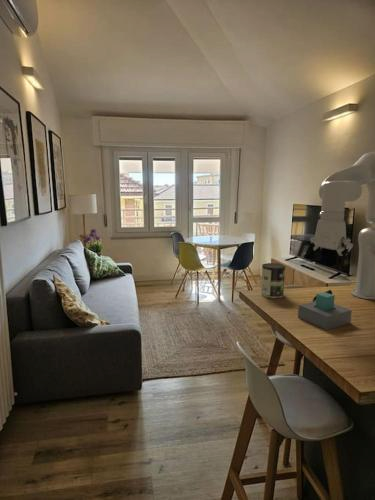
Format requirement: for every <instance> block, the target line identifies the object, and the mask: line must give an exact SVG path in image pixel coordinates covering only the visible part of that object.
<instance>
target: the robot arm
mask: <svg viewBox="0 0 375 500" xmlns="http://www.w3.org/2000/svg"><path fill="white" fill-rule="evenodd" d="M362 185H366V188H367V191H368V192H367V193H368V197H367V202H366V203H367V205H366V211H365V221H366V222H367V224H370V225H374V226H375V151H370V152H366V153H364V154H363V155H362V156H360V158H358V160H357V161H356V162H355V163H353V165H351V166H349V167H346V168H343V169H341V170H338V171H336V172H334V173H332V174H330V175H328V176H327V177H326V178H325V179H324V180H323V181H322V182H321V184H320V186H319V188H318V196H319V198H320V199H321V211H320V212H319V213H318V215H319V217H320V219H318V221H317V224H316V229H315V234H314V236H312V237H311V236H310V238H309V240H310V243H311V246H312V248H313V249H312V250H313V251H314V254H313V255H314V256H313V261H314V262H320V261H322V255H323V253H322V252H323V251H322V249H327V250H332V251H336V252H337V254H338V255H337V256H336V265H335V267H336V268H337V267H338V268H340V267H344V266H345V262H346V261H345V260H346V256H347V255H348V254H349V253H351V250H352V248H353V247H354V243H352V242H350V241H349V240H348V239H347V227H346V221H345V220H344V219H345V209H346V202H347V203H351V202H355V201H358V200H359V199H360V197H361V196H362V193H363V187H362ZM357 238H358V263H357V269H356V270H357V271H356V280H355V289H352V290H351V295H353V296H355V297H356V298H360V299H364V300H365V299H366V300H374V301H375V227H365V228H363V229H361V230H360V231H359V233H358V237H357Z"/></svg>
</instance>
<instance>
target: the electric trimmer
mask: <svg viewBox="0 0 375 500" xmlns="http://www.w3.org/2000/svg"><path fill="white" fill-rule="evenodd" d="M325 292H326V293H329V294H332V295H333V291H332V290H331V289H329V290H327V291H325ZM314 301H316V296H314V298H312V302H314Z"/></svg>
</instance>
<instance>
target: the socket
mask: <svg viewBox="0 0 375 500" xmlns="http://www.w3.org/2000/svg"><path fill="white" fill-rule="evenodd" d="M297 307H298V308H297V309H298V310H297V318H299V319H301V320H303V321H306V322H307V323H310V324H312V325H314V326H316V327H319V328H321V329H323V330H325V331H328V330H332V329H335V328H338V327H342V326H345V325H348V324H351V321H352V313H353V312H352V310H351V309H349V308H347V307H345V306H344V307H343V306H341V305H339V304H336V303H334V309H333V310H330V311H323V310H321V309H318V308H316V301H314V302H313V301H310V302H306V303H300V304H298V306H297Z"/></svg>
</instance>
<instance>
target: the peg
mask: <svg viewBox="0 0 375 500" xmlns="http://www.w3.org/2000/svg"><path fill="white" fill-rule="evenodd" d="M315 297H316V308H318V309H321V310H323V311H330V310H333V309H334V304H335V295H334V294H333V293H332V294H329V293H326V291H324V292H319V293H316V294H315Z"/></svg>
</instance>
